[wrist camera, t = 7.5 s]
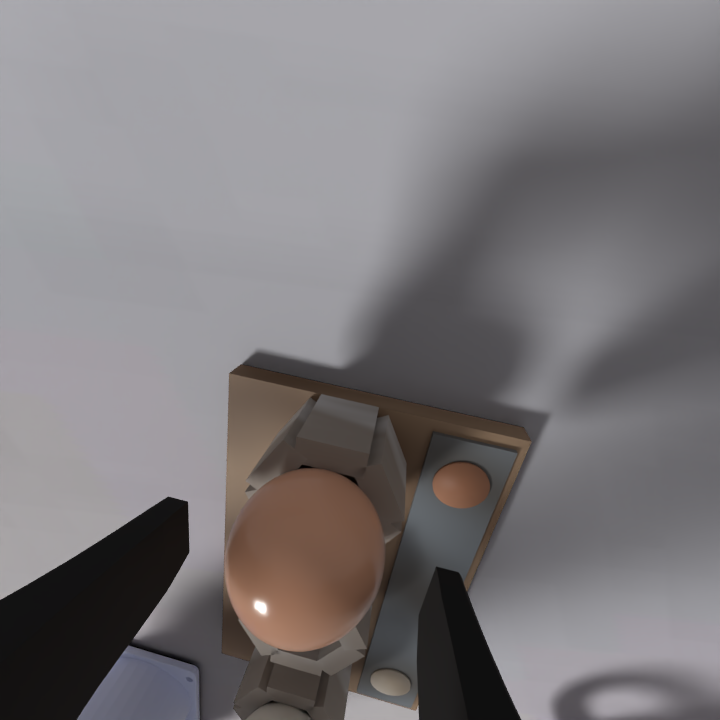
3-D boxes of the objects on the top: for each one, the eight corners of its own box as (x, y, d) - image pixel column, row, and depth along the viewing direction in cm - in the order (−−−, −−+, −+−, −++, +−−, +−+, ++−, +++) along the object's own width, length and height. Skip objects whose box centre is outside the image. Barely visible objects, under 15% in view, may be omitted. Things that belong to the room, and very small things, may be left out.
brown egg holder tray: (415, 689, 21) (415, 789, 17) (230, 635, 22) (191, 718, 18) (523, 427, 14) (564, 500, 10) (241, 364, 15) (181, 409, 11)
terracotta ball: (376, 554, 13) (360, 714, 8) (260, 526, 13) (189, 666, 9) (402, 456, 11) (398, 594, 7) (268, 426, 11) (185, 541, 7)
